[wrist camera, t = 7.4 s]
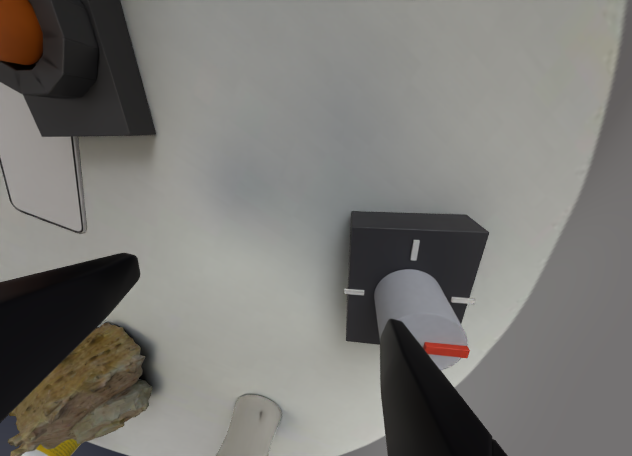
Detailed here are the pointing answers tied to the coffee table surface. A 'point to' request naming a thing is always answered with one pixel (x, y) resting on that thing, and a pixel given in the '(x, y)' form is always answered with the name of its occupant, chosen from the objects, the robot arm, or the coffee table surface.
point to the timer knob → (422, 314)
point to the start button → (19, 33)
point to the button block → (82, 72)
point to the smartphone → (39, 167)
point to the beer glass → (251, 427)
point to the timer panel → (409, 260)
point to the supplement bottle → (55, 449)
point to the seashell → (84, 393)
